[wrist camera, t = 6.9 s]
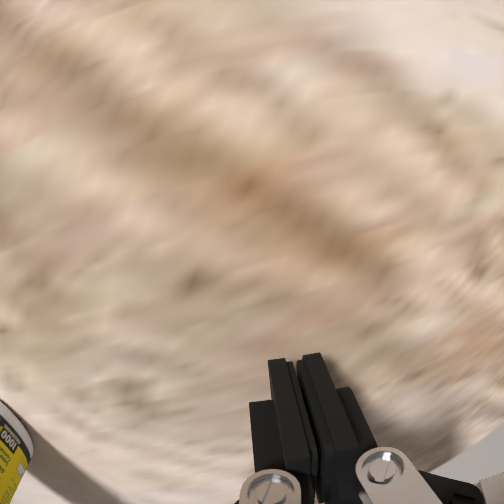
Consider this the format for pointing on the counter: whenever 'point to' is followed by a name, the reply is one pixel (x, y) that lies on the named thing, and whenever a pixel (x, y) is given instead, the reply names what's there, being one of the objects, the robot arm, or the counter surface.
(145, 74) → the counter surface
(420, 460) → the counter surface
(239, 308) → the counter surface
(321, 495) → the robot arm
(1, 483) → the pill bottle
